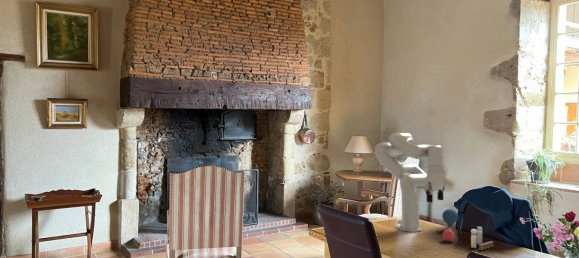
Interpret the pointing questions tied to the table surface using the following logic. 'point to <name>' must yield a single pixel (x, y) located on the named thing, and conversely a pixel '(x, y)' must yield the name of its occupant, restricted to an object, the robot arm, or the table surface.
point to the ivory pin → (473, 238)
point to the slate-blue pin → (479, 235)
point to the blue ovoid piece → (450, 217)
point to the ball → (448, 235)
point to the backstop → (486, 245)
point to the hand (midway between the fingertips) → (435, 200)
